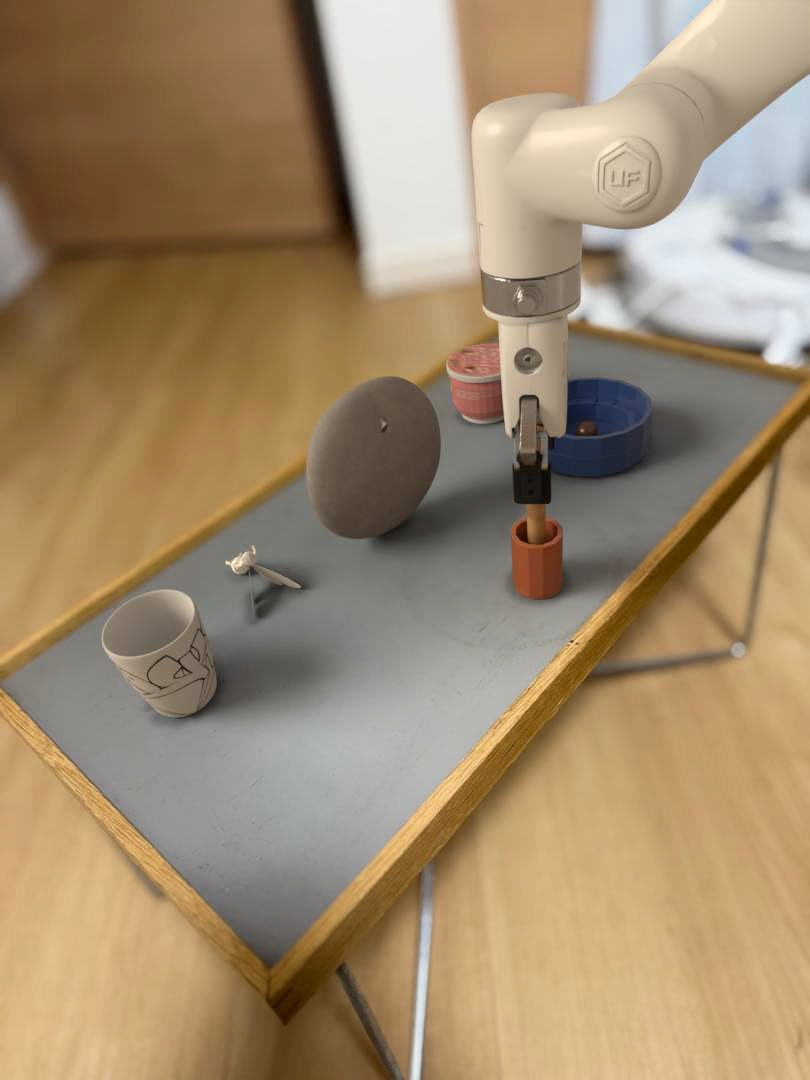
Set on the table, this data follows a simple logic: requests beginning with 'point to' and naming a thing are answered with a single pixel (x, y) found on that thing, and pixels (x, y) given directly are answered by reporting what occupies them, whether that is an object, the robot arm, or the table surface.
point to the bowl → (603, 428)
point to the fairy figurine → (258, 569)
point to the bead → (587, 429)
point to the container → (477, 383)
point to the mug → (163, 651)
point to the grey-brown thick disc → (372, 457)
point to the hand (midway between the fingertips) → (535, 473)
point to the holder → (537, 561)
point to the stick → (536, 516)
